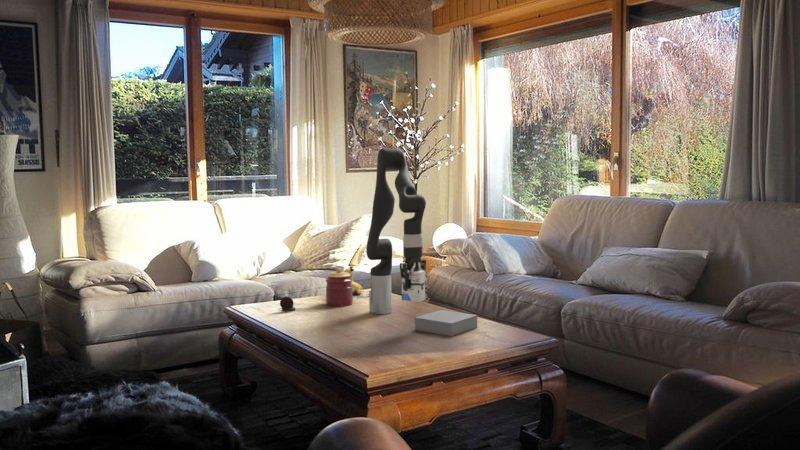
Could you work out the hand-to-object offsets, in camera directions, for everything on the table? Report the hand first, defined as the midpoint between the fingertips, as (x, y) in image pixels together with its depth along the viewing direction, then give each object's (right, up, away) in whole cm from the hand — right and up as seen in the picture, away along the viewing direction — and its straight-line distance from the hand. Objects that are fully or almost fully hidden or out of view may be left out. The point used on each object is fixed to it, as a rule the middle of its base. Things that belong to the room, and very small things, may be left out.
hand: (413, 287), depth 277 cm
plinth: (+13, -17, +4) cm, 22 cm away
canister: (-34, -14, +58) cm, 69 cm away
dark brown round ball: (-58, -15, +45) cm, 75 cm away
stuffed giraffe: (-28, -12, +81) cm, 87 cm away
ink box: (0, -5, 0) cm, 5 cm away
